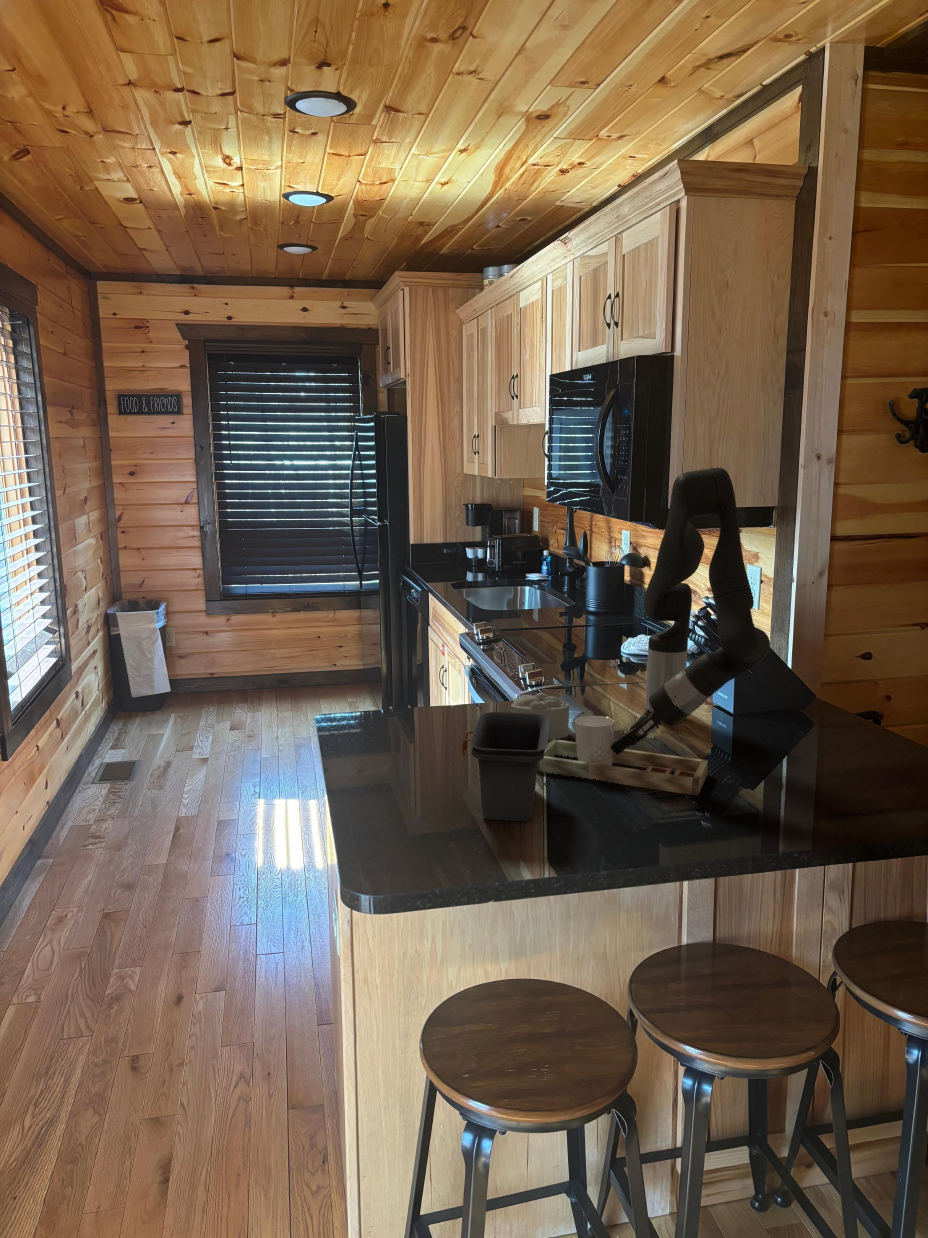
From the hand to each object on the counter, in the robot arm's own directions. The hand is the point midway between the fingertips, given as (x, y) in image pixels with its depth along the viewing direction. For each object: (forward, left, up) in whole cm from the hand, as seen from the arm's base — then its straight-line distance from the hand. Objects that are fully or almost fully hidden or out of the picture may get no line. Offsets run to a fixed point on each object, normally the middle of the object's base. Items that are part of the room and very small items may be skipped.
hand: (614, 750), depth 179 cm
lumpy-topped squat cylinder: (+5, -28, -5) cm, 28 cm away
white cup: (+3, -2, -5) cm, 6 cm away
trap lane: (-1, +1, -5) cm, 5 cm away
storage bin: (+27, +10, -5) cm, 29 cm away
